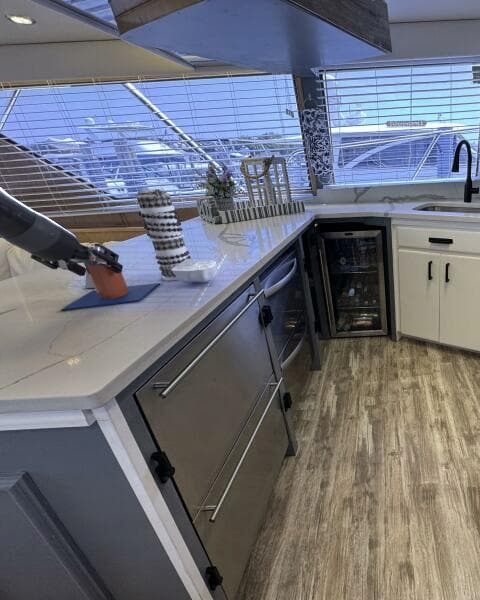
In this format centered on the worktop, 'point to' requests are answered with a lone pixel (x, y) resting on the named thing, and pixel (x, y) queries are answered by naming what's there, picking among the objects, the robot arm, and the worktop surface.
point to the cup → (107, 281)
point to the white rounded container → (195, 271)
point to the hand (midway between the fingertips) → (102, 271)
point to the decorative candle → (163, 230)
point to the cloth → (94, 300)
